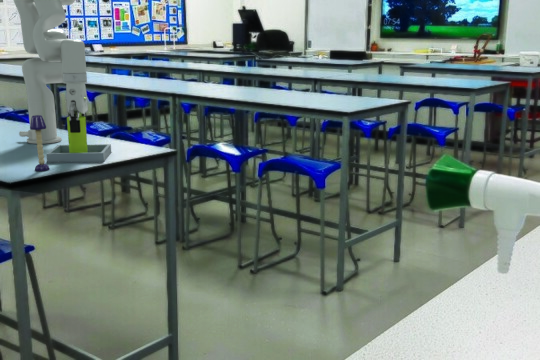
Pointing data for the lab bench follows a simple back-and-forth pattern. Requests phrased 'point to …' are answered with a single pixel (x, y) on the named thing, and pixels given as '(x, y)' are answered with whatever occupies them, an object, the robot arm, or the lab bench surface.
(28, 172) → the lab bench surface
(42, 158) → the toy lamp
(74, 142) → the soap dispenser
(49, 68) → the robot arm
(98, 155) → the tray
